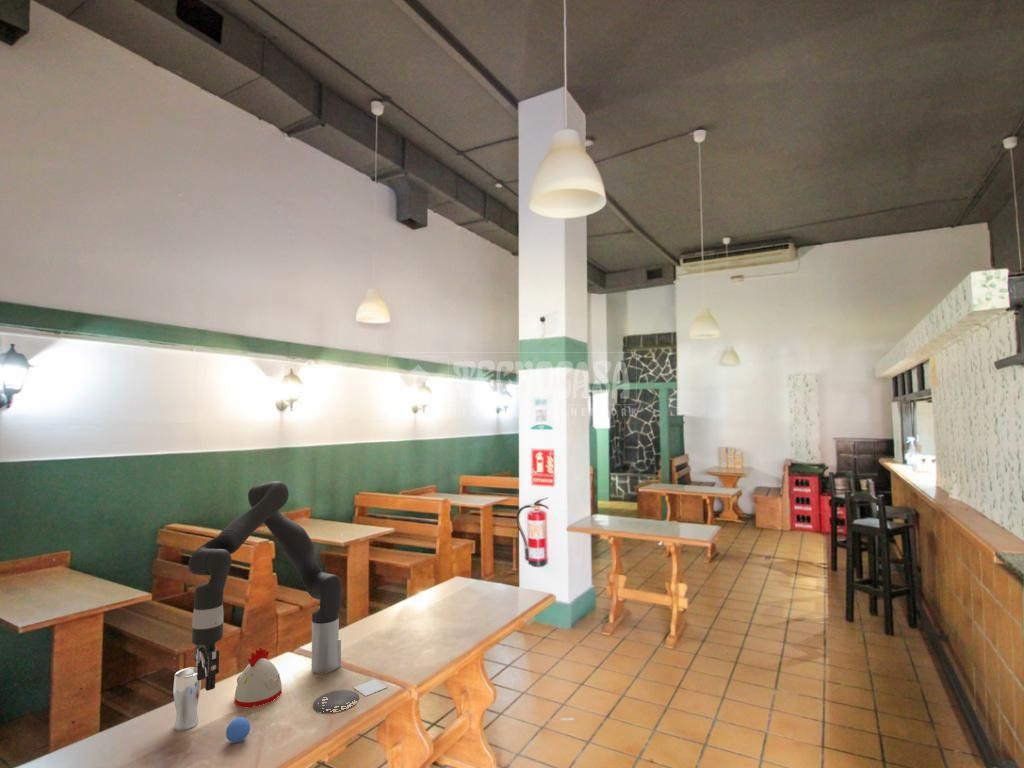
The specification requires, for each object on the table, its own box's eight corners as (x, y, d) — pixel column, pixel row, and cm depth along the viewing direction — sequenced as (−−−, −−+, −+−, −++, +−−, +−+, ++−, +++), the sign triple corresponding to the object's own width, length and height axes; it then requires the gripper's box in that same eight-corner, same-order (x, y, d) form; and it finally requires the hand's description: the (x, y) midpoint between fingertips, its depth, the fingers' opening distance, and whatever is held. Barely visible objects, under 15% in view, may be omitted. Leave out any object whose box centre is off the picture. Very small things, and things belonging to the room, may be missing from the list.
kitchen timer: (224, 704, 169) (225, 655, 170) (256, 683, 183) (257, 638, 184) (260, 710, 165) (260, 660, 166) (290, 688, 178) (291, 642, 180)
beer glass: (180, 734, 153) (181, 680, 154) (167, 727, 157) (169, 674, 158) (204, 722, 159) (205, 670, 160) (192, 716, 163) (193, 665, 164)
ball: (245, 732, 153) (246, 710, 154) (253, 740, 149) (253, 718, 150) (222, 741, 149) (223, 718, 150) (229, 750, 145) (230, 727, 145)
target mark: (346, 686, 179) (346, 685, 179) (367, 701, 169) (367, 700, 169) (305, 702, 169) (305, 701, 170) (325, 718, 160) (325, 718, 160)
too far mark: (375, 679, 183) (375, 679, 183) (387, 687, 178) (387, 687, 178) (353, 688, 178) (353, 687, 178) (365, 696, 172) (365, 695, 172)
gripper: (230, 625, 145) (228, 688, 144) (215, 613, 156) (213, 671, 154) (199, 633, 140) (196, 698, 139) (186, 619, 150) (183, 680, 149)
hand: (205, 684), depth 146 cm, fingers open, 8 cm apart
